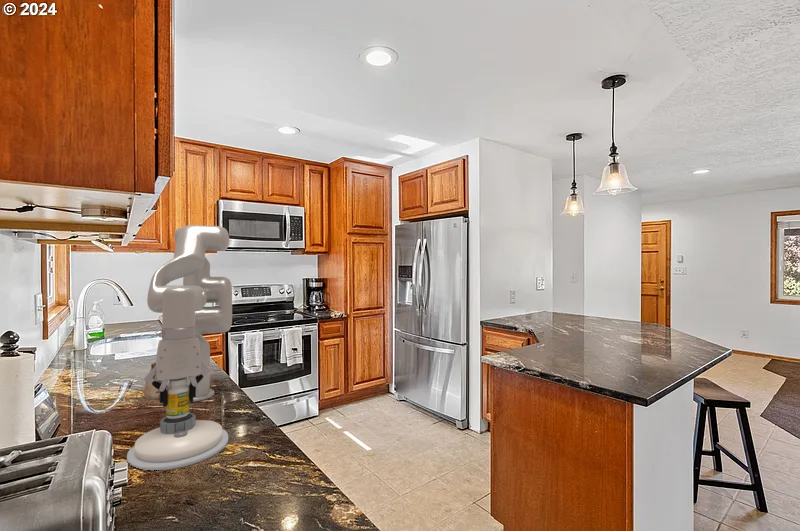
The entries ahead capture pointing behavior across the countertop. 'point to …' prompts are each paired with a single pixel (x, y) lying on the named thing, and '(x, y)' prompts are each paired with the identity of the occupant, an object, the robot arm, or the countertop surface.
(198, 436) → the white round disc
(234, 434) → the countertop surface
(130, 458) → the base
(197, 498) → the countertop surface
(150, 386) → the figurine
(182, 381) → the supplement bottle
